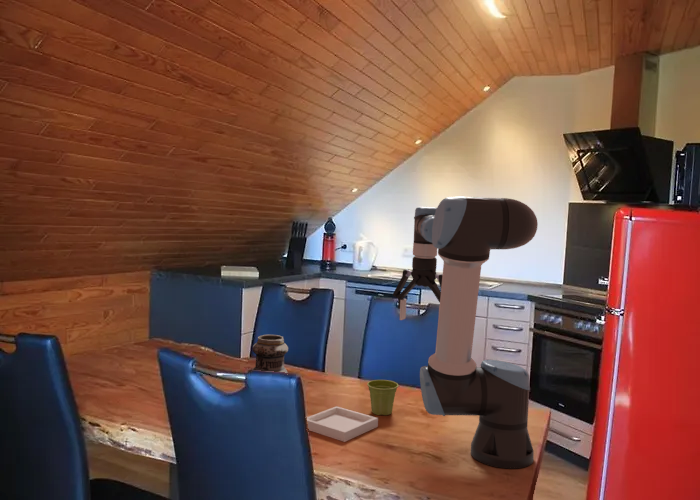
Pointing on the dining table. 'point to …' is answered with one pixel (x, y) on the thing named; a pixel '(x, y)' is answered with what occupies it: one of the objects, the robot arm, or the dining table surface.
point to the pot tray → (341, 423)
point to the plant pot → (382, 396)
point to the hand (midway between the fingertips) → (421, 323)
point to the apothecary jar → (270, 353)
